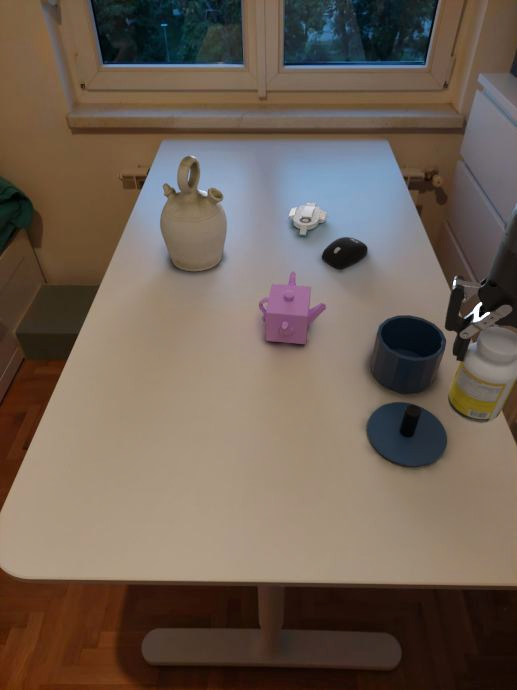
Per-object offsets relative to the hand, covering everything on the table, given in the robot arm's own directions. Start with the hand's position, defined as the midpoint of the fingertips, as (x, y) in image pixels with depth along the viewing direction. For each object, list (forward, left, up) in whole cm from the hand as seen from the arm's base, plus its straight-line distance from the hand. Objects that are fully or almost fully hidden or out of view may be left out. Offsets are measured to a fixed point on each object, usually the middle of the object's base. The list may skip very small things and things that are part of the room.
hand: (491, 363), depth 59 cm
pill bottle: (0, 0, -8) cm, 8 cm away
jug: (+62, -43, -26) cm, 80 cm away
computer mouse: (+28, -56, -26) cm, 68 cm away
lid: (+6, -7, -25) cm, 27 cm away
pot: (+9, -22, -26) cm, 35 cm away
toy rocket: (+42, -69, -26) cm, 85 cm away
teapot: (+32, -25, -26) cm, 48 cm away
